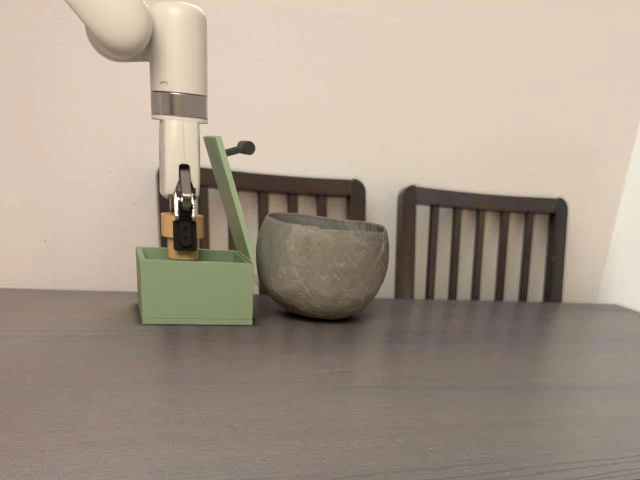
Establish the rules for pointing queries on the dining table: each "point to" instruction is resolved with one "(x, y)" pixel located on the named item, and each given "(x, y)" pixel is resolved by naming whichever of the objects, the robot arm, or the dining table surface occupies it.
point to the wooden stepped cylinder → (167, 232)
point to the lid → (230, 189)
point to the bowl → (321, 263)
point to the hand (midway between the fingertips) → (182, 246)
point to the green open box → (194, 287)
